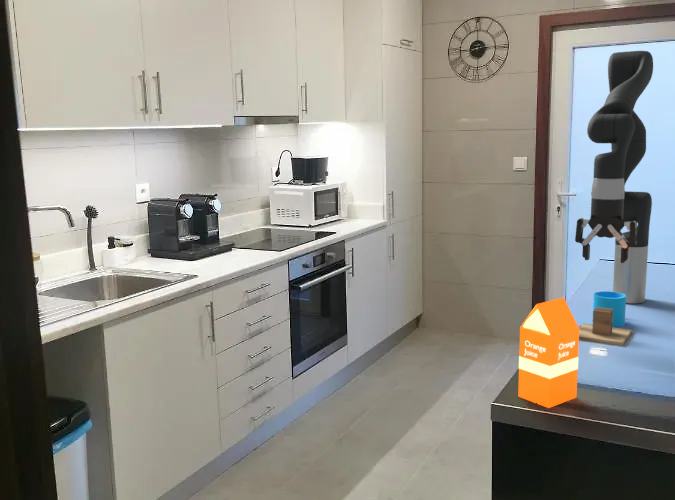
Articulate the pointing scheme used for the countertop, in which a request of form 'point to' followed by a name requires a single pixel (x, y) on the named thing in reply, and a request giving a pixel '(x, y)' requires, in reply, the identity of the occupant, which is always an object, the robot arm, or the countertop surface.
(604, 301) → the mug
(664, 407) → the countertop surface
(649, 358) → the countertop surface
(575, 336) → the orange juice
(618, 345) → the rubber mat
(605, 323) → the oak lid
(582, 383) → the countertop surface
